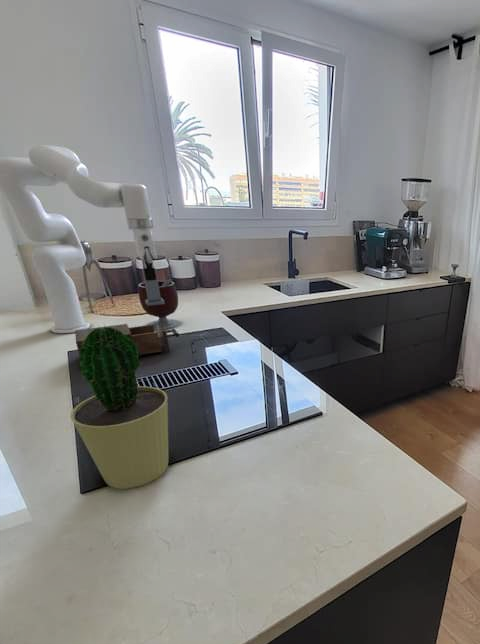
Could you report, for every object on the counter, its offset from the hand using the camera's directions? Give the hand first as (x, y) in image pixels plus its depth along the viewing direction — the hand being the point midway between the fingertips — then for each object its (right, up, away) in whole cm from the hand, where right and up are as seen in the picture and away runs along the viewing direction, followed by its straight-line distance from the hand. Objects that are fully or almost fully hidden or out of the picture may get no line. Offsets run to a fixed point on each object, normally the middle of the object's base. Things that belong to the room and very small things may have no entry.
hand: (150, 279), depth 139 cm
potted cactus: (+30, -52, -61) cm, 85 cm away
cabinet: (-8, -28, -10) cm, 31 cm away
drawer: (+2, -25, -3) cm, 25 cm away
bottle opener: (0, -8, +3) cm, 9 cm away
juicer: (-49, -4, +44) cm, 66 cm away
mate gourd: (-7, -14, +24) cm, 28 cm away
